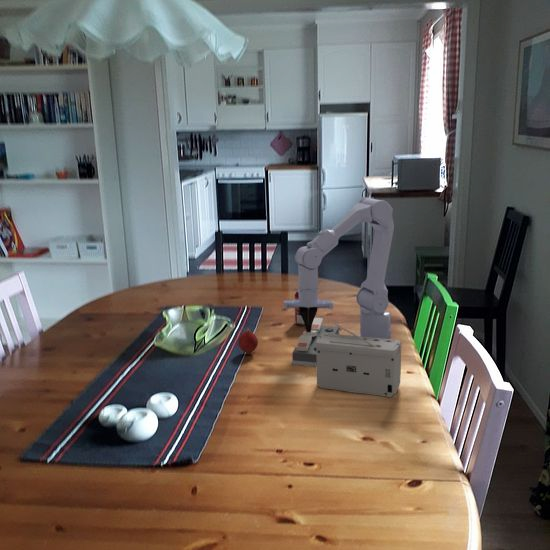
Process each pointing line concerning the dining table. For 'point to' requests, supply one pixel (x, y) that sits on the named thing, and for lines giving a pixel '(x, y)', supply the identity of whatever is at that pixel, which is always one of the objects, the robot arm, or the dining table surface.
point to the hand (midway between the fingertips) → (308, 330)
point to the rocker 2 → (317, 324)
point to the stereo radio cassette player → (358, 363)
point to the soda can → (297, 315)
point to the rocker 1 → (304, 343)
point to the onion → (248, 342)
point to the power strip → (311, 349)
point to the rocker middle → (311, 333)
